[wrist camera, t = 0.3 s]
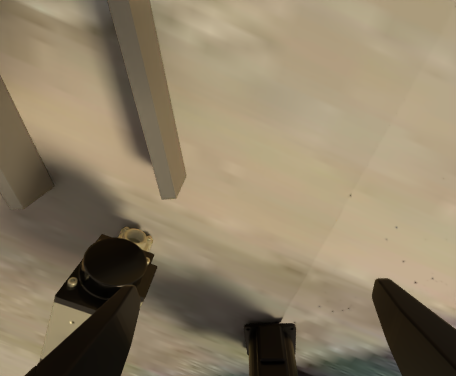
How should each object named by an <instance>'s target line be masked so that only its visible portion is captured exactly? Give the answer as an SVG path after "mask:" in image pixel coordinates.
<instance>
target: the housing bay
mask: <svg viewBox="0 0 456 376" xmlns="http://www.w3.org/2000/svg"><path fill="white" fill-rule="evenodd" d="M107 1H108V5H109V9H110V12H111V16H112V20H113V23H114V27H115V31H116V34H117V38H118V42H119V45H120V49H121V53H122V56H123V60H124V64H125V67H126V71H127V75H128V78H129V82H130V86H131V89H132V93H133V97H134V100H135V104H136V108H137V111H138V115H139V119H140V122H141V126H142V130H143V133H144V137H145V141H146V144H147V148H148V152H149V155H150V159H151V163H152V166H153V170H154V174H155V177H156V181H157V185H158V188H159V192H160V196H161V199H162V200H163V199H176V198H177V196H178V194H179V191H180V189H181V187H182V185H183V183H184V180H185V178H186V172H185V167H184V163H183V158H182V153H181V148H180V143H179V139H178V134H177V129H176V124H175V120H174V115H173V110H172V105H171V100H170V96H169V91H168V86H167V81H166V77H165V72H164V67H163V62H162V58H161V53H160V48H159V43H158V38H157V34H156V29H155V24H154V19H153V15H152V10H151V5H150V0H107ZM53 187H54V184H53V182H52V180H51V178H50V176H49V174H48V172H47V170H46V168H45V166H44V164H43V162H42V160H41V158H40V156H39V154H38V152H37V150H36V148H35V146H34V143H33V141H32V139H31V137H30V135H29V133H28V131H27V129H26V127H25V125H24V123H23V121H22V119H21V117H20V115H19V113H18V111H17V109H16V107H15V105H14V103H13V101H12V98H11V96H10V94H9V92H8V90H7V88H6V86H5V84H4V82H3V80H2V78H1V76H0V193H1V195H2V196H3V198H4V199H5V201H6V203H7V204H8V206H9V208H10V209H11V210H17V209H24V208H26V207H27V206H29V205H30V204H31V203H33V202H34V201H35V200H37V199H38V198H39V197H41V196H42V195H44V194H45V193H46V192H48V191H49V190H50V189H52V188H53Z"/></svg>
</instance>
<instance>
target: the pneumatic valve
mask: <svg viewBox="0 0 456 376" xmlns="http://www.w3.org/2000/svg"><path fill="white" fill-rule="evenodd" d="M152 243H153V239H152V237H151V236H147V237H146V234H145V233H144V232H143V231H141V230H139V229H130V228H129V227H124V228H122V229H121V232H120V234H119V237H118V238H111V237H109V236H106V235H104V234H102V235H101V236H100V237H99V238H98V240H97V241H96V242H95V243H94V244H92V245H91V246H90V247H89V248H88V249H87V251H86V252H85V255H84V258H83V259H82V261H81V262H80V263H79V265H78V266H77V267H76V269H75V270H74V271H73V273H72V274H71V275H70V277H69V278H68V279H67V280H66V282H65V283H64V284H63V286H62V287H61V288H60V290H59V291H58V292H57V294H56V295H55V299H54V303H53V307H52V311H51V315H50V320H49V324H48V328H47V332H46V336H45V341H44V345H43V349H42V353H41V357H40V361H41V360H42V359H44V358H45V357H46V356H47V355H48V354H49V353H50V352H51V351H52V350H53V349H55V348H56V347H57V346H58V345H59V344H60V343H61V342H62V341H63V340H65V339H66V338H67V337H68V336H69V335H70V334H71V333H72V332H73V331H74V330H76V329H77V328H78V327H79V326H80V325H81V324H82V323H83V322H84V321H85V320H87V319H88V318H89V317H90V316H91V315H92V314H93V313H94V312H95V311H97V310H98V309H99V308H100V307H101V306H102V305H103V304H104V303H105V302H106V301H108V300H109V299H110V298H111V297H112V296H113V295H114V294H115V293H116V292H118V291H119V290H120V289H121V288H122V287H123V286H126V285H134V286H135V287H136V289H137V291H138V294H139V296H140V299H141V305H142V303H143V301H144V299H145V297H146V294H147V292H148V289H149V287H150V284H151V282H152V279H153V277H154V274H155V272H156V269H157V266H155V265H153V264H151V262H152V260H153V257H154V254H152V253H150V252H149V249H150V247H151V245H152ZM141 305H140V307H141Z"/></svg>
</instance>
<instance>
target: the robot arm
mask: <svg viewBox="0 0 456 376" xmlns="http://www.w3.org/2000/svg"><path fill="white" fill-rule="evenodd" d="M372 299H373V303H374V306H375V309H376V311H377V314H378V317H379V320H380V323H381V326H382V329H383V332H384V335H385V338H386V340H387V343H388V345H389V348H390V350H391V352H392V355H393V357H394V359H395V361H396V363H397V365H398V367H399V370H400V372H401V374H402V376H456V329H455V328H454V327H452V326H451V325H450V324H448V323H447V322H446V321H444V320H443V319H442V318H440V317H439V316H438V315H436V314H435V313H434V312H432V311H431V310H430V309H429V308H427V307H426V306H425V305H423V304H422V303H421V302H419V301H418V300H417V299H415V298H414V297H413V296H411V295H410V294H409V293H407V292H406V291H405V290H403V289H402V288H401V287H400V286H398V285H397V284H396V283H394V282H393V281H392V280H390V279H388V278H378V279H376V280H375V283H374V287H373V292H372ZM140 305H141V299H140V296H139V294H138V291H137V289H136V287H135V286H134V285H126V286H123V287H122V288H121V289H120V290H119V291H118V292H116V293H115V294H114V295H113V296H112V297H111V298H110V299H109V300H108V301H106V302H105V303H104V304H103V305H102V306H101V307H100V308H99V309H98V310H97V311H95V312H94V313H93V314H92V315H91V316H90V317H89V318H88V319H87V320H85V321H84V322H83V323H82V324H81V325H80V326H79V327H78V328H77V329H76V330H74V331H73V332H72V333H71V334H70V335H69V336H68V337H67V338H66V339H65V340H63V341H62V342H61V343H60V344H59V345H58V346H57V347H56V348H55V349H53V350H52V351H51V352H50V353H49V354H48V355H47V356H46V357H45V358H44V359H42V360H41V361H40V362H39V363H38V364H37V366H35V367H33V368H32V369H31V370H30V371H29V372H28V373H27V374H26V375H25V376H121V373H122V370H123V367H124V364H125V362H126V359H127V356H128V353H129V350H130V347H131V343H132V339H133V335H134V331H135V327H136V322H137V318H138V314H139V310H140ZM244 333H245V341H246V348H247V354H248V355H249V376H298V373H297V367H296V360H295V345H296V327H295V324H293V323H280V324H246V325H244Z"/></svg>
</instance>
